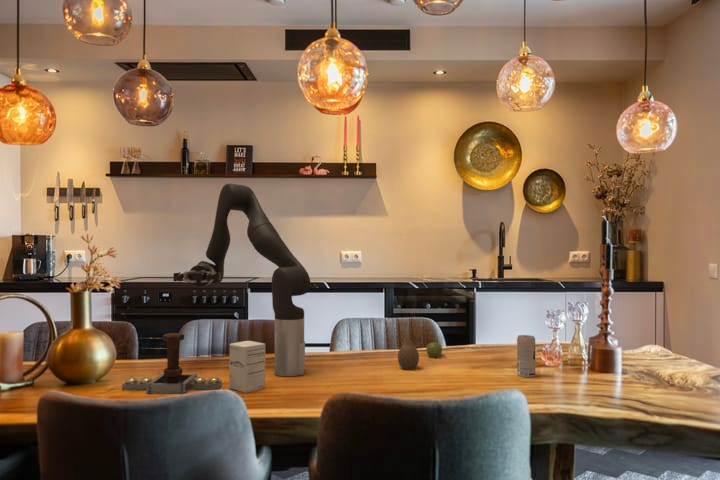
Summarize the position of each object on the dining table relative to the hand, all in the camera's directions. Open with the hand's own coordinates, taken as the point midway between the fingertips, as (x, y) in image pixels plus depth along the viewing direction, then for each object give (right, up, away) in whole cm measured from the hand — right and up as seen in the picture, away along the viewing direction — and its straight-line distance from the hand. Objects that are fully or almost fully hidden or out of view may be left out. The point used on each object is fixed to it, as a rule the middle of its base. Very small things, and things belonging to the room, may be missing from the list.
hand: (193, 277), depth 165 cm
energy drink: (+103, -30, -3) cm, 107 cm away
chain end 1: (-5, -30, -17) cm, 34 cm away
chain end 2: (+4, -30, -16) cm, 34 cm away
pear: (+79, -31, +27) cm, 89 cm away
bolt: (-1, -30, -16) cm, 34 cm away
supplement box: (+20, -30, -17) cm, 40 cm away
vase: (+68, -30, +7) cm, 74 cm away
